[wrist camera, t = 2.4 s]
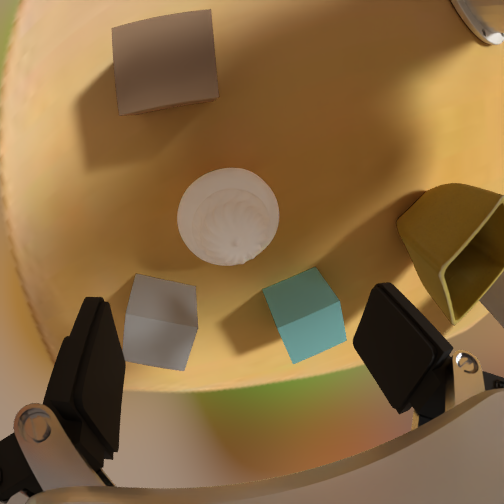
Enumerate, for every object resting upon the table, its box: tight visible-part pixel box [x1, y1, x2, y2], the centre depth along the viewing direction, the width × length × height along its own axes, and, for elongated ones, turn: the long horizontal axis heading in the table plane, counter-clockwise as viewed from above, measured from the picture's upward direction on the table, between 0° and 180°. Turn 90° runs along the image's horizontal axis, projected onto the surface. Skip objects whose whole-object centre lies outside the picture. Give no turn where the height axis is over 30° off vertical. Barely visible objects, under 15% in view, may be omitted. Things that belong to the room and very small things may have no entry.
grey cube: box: [123, 273, 198, 371], centre depth 21 cm, size 5×5×5 cm
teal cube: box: [262, 267, 347, 364], centre depth 23 cm, size 5×5×5 cm
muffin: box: [177, 168, 279, 266], centre depth 17 cm, size 6×6×7 cm
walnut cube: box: [112, 9, 219, 116], centre depth 13 cm, size 5×5×5 cm
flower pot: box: [396, 183, 504, 325], centre depth 20 cm, size 9×9×9 cm
